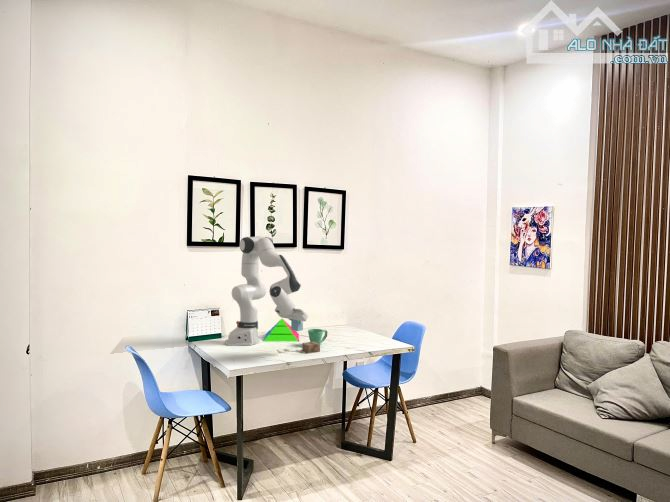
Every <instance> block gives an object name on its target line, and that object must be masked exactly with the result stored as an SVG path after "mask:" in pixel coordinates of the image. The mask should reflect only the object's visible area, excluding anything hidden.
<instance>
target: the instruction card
mask: <svg viewBox="0 0 670 502" xmlns="http://www.w3.org/2000/svg"><path fill="white" fill-rule="evenodd" d="M276 351H277V352H278V353H288V352H289V353H293V352H296V349H294V348H292V347H289V348H281V349H280V348H279V349H276Z"/></svg>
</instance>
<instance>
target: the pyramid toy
mask: <svg viewBox="0 0 670 502" xmlns="http://www.w3.org/2000/svg"><path fill="white" fill-rule="evenodd" d="M299 341H300V334H299V332H298V331H293V330H291V325H290V324H289V323H288V322H287V321H286V320H285V319H284V318H281V319H279V320H278V322H277V323H276V324H274V325H273V326H272V327H271V328H270V329H269V330H268V331H267V332H266V333H265V335H264V338H263V342H299Z"/></svg>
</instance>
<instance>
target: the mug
mask: <svg viewBox="0 0 670 502" xmlns="http://www.w3.org/2000/svg"><path fill="white" fill-rule="evenodd" d="M307 332H308V338H309V342H316V343H318V344H320V345H321V344H322V343H323V342H324V341H325V340H326V338H327V337H328V330H327V329H319V328H311V329H308V330H307ZM323 333H324V335H323Z"/></svg>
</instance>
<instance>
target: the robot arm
mask: <svg viewBox="0 0 670 502" xmlns="http://www.w3.org/2000/svg"><path fill="white" fill-rule="evenodd" d="M239 250H240V251H241V253H242V255H241V273H240V274H241V276H242V277H243V278H245V279H246V284H245V283H244V284H238V285H236V286H234V287H233V288H232V289H231V297H232V299H233V300H234V301H236V303H237V304H238V307H239V313H240V315H239V317H240V318H239V319H240V320H237V321H236V322H235V323H236V327H235V328H234V329H233V330H231V331H230V332H229V334H228V337H227V339H225V340H224V344H225V345H226V346H253V345H256V344H259V343H260V339H259V333H258V331H259V330H258V329H259V321H258V309H257V307H255V306H254V305H253V303H252V301H254V300H255V301H256V300H260V299H262V298H264V297H265V296H266V295H267V288H266V286H265V284H263V283H262V281H261V279H260V273H259V264H260V263H261V264H262V265H263V266H265V267H267V268H275V267H281V268H283V270H284V272H285V274H286V277H284V278H282V279H280V280H278V281H276V282H274V283H272V284H271V285H270V286H269V296H270V297H271V300H272V301H273V303H274V305H276V306H275V308H274V311H275V312H276V314H277V315H278V317H280V318H281V319H288V320H289V321H291V319H294V320H299V322H300V323H301V324H303V325H304V322H306V321H307V319H308V318H309V315H308V314H307V313H306V312H305V311H304V310H303V309H301V308H297V307H296V304H295V303H294V302H293V300H292V299H291V298H290V296H289V295H290V294H292V293H293V294H294V293H297V292H298V291H299V290H300V289H301V287H302V285H301V283H302V282H301V281H300V279H299V278H298V277H297V275H296V273H294V271H293V269H292V267H291V265H290V264H289V263H288V261H287V259H286V258H285V256H283V255H282V254H278V253H277V251H276V249H275V246H274V241H273V239H272V238H270V237H267V236H244V237H242V238H241V240H240V241H239ZM259 260H260V263H259Z"/></svg>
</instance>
